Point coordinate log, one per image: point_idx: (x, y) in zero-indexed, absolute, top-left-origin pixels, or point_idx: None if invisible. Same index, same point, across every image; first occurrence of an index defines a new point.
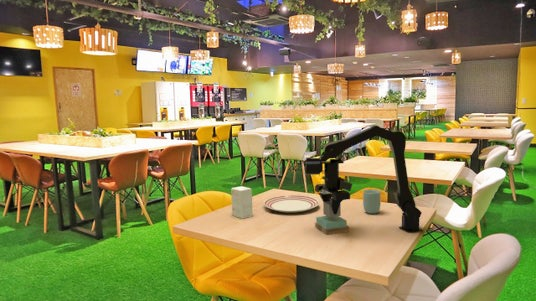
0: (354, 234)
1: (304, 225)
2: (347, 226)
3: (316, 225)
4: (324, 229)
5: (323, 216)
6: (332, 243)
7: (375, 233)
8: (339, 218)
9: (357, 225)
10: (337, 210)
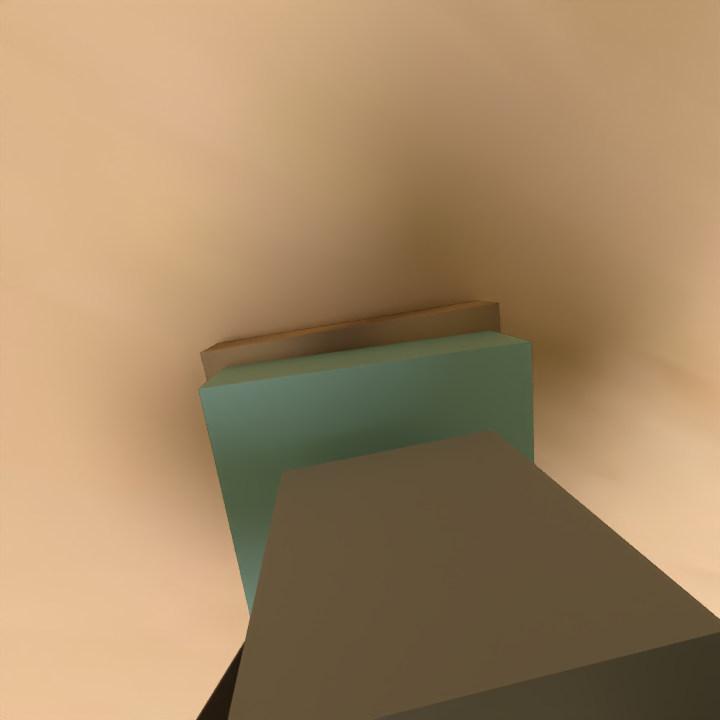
0: (569, 285)
1: (197, 644)
2: (483, 317)
3: None
4: None
5: (255, 579)
6: (673, 527)
7: (623, 50)
8: (405, 402)
9: (318, 118)
10: None
